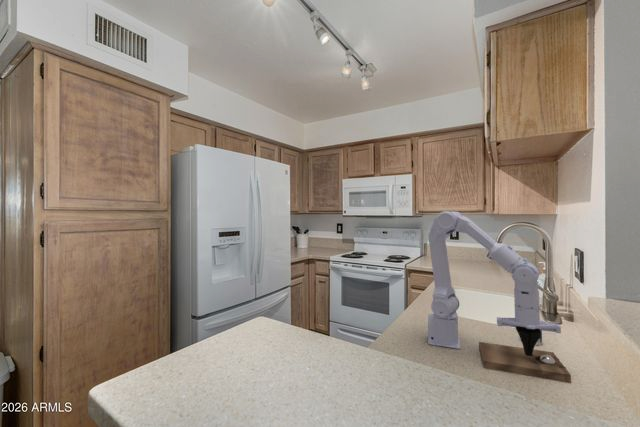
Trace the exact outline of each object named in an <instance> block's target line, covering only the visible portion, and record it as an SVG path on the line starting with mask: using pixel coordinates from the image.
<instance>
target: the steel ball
mask: <svg viewBox="0 0 640 427" xmlns="http://www.w3.org/2000/svg"><path fill="white" fill-rule="evenodd" d="M540 362H541V363H544V364H550V365H554V364H556V362H555V360H554V358H553V357H551V356H549V355H542V356H541V357H540Z"/></svg>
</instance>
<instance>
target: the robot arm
mask: <svg viewBox="0 0 640 427" xmlns="http://www.w3.org/2000/svg"><path fill="white" fill-rule="evenodd" d="M454 232H458V233H462V234H467V235H468V236H470V238H472V239H473V240H475V242H477V243H478V244H480V245H481V246H482V247H484V248H485V249H486V250H487V251H488V253H489V258H491V259H492V260H493V261H495V262H496V263H497V265H499V266H500V267H501V268H502V269H504V271H506V272H507V273H510V274H511V277H512V280H513V281H514V287H513V295H514V298H513V299H514V317H500V316H499V317H497V316H496V325H497V326H498V327H510V328H515V330H516V332H517V333H518V336H519V338H520V341H521V343H522V344H521V345H522V348H524V353H525V354H526V356H532V353H533V350H535V347H536V346H537V345H536V343H537V341H538V340H539V338H540V337H541V332H540V330H542V332H543V331H544V332H553V333H556V334H562V330H561V328H562V327H561V325H559V324H558V323H554V322H553V323H552V322H548V321H547V322H546V321H543V320H541V311H540V291H539V281H538V280H539V277H540V270H539V268H538V267H537V266H536V265H535V264H534V263H533V262H530V261H529V260H528V258H526V257H522V256H521V255H520V254H519V253H517V252H516V251H515V250H513V249H514V247H513V246H512V245H511V244H508V245H507V244H506V243H504V242H502V243H501V242H500V243H498V242H497V241H495V239H493V238H492V237H490V236H489V235H488V233H487V232H485V231H484V230H483V229H481V228H480V227H479V226H478V225H477V224H476V223H474V222H473V221H472V220H471V219H470V218H468V217H467V216H465V215H463V214H462V213H461V212H459V211H457V210H455V211H454V210H453V211H448V210H444V211H441V212H439V213H438V214H437V215H436V216H435V217H434V218H433V222H432V226H431V228H430V230H429V233H428V245H429V252H430V259H431V260H430V261H431V267H432V273H433V282H434V289H433V293H432V301H431V305H430V306H431V311H432V312H433V313H428V315H427V341H428V345H431V346H432V345H433V346H438V347H445V348H449V349H451V348H452V349H456V350H457V349H461V343H460V338H459V322H458V321H459V318H458V316H459V315H458V313H457V310H458V309H459V307H460V300H459V298H458V297H457V295H456V290H455V289H454V287H453V286H452V279H451V271H450V264H449V258H448V251H447V250H448V249H447V244H446V243H447V242H446V240H447V239H448V238H449V236H450V235H451V234H453V233H454Z"/></svg>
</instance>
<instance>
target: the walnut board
mask: <svg viewBox="0 0 640 427" xmlns="http://www.w3.org/2000/svg"><path fill="white" fill-rule="evenodd" d="M478 349H479V353H480V358H481V361H482V365H483V367H482V368H484V369H488V370H493V371H501V372H505V373H512V374H515V375H516V374H517V375H522V376H528V377H532V378H533V377H535V378H539V379H544V380H545V379H546V380H552V381H557V382H562V383H563V382H564V383H569V384H571V383H572V375H571V373H570V372H569V370H567V368H566V366H564V364H563V363H562V362H561V360H560V359H559V358H558V357H557V356H556V354H555V353H554V351H553V352H552V351H547V350H546V351H545V350H539V349H534V350H533V353H532V356H526V354H525V353H524V348H523V347H518V346H510V345H504V344H496V343H489V342H484V341H478ZM542 355H549V356H551V357H553V358H554V360H555V362H556V364H554V365H550V364H544V363H541V362H540V357H541V356H542Z"/></svg>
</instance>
